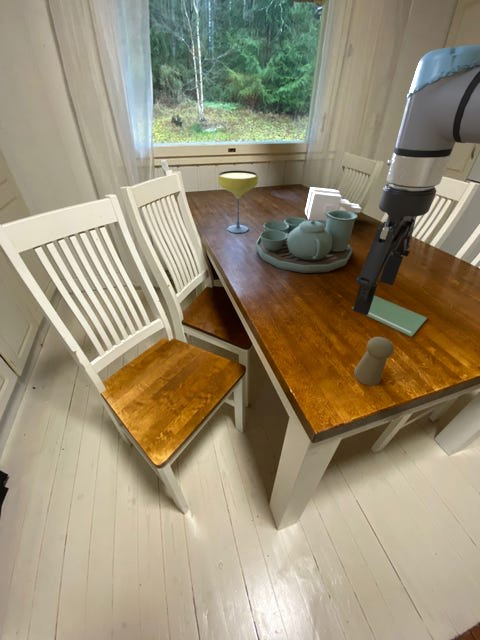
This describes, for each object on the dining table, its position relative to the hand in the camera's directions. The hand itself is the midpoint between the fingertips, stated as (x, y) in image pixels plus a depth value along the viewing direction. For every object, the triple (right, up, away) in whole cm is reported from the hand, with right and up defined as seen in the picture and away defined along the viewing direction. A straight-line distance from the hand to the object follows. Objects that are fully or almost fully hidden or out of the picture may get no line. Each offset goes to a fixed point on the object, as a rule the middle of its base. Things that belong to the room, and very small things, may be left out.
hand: (374, 296), depth 56 cm
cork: (+2, -18, +8) cm, 20 cm away
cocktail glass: (-29, +41, +82) cm, 96 cm away
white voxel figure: (+23, +52, +96) cm, 112 cm away
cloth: (+18, -3, +27) cm, 33 cm away
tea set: (-1, +24, +61) cm, 66 cm away
